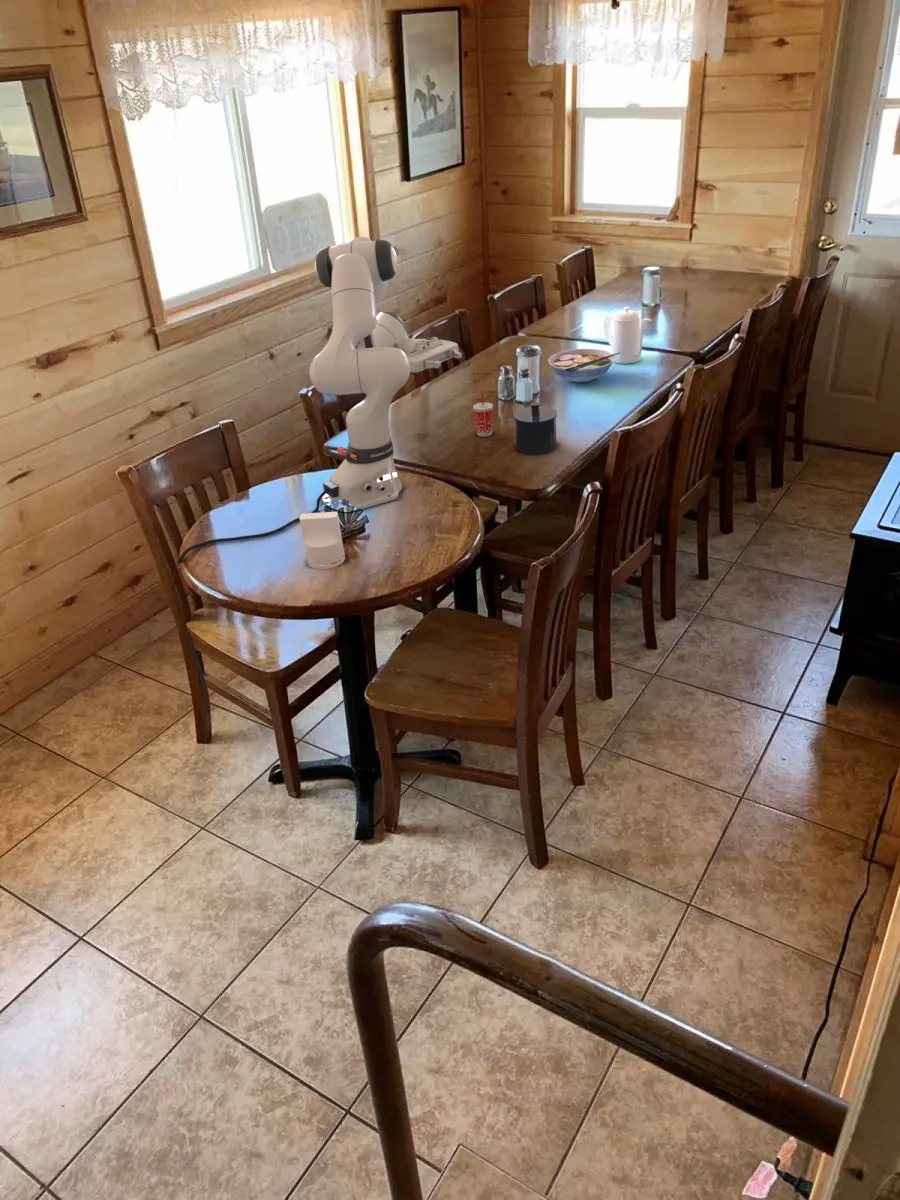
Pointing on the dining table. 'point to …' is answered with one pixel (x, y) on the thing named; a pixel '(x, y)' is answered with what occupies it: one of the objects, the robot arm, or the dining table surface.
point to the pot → (536, 437)
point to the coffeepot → (625, 335)
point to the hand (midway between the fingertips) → (449, 360)
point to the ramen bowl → (581, 364)
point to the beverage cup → (483, 418)
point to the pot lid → (535, 414)
